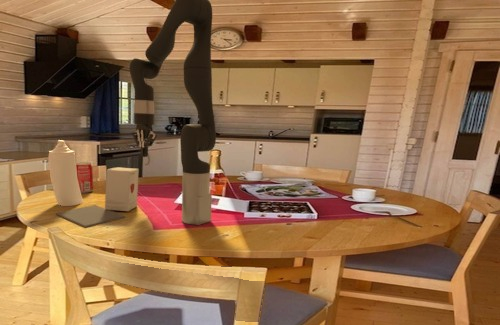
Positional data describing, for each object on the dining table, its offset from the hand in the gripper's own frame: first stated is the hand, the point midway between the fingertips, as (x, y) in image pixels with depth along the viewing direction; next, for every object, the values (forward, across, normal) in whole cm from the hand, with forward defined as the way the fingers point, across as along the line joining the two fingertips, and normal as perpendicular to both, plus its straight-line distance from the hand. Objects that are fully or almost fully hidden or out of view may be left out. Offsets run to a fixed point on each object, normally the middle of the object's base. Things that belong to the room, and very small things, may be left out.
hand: (144, 156), depth 127 cm
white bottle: (+20, +20, +20) cm, 35 cm away
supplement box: (+19, 0, +10) cm, 22 cm away
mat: (+19, 0, +22) cm, 29 cm away
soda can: (+20, +35, +6) cm, 41 cm away
